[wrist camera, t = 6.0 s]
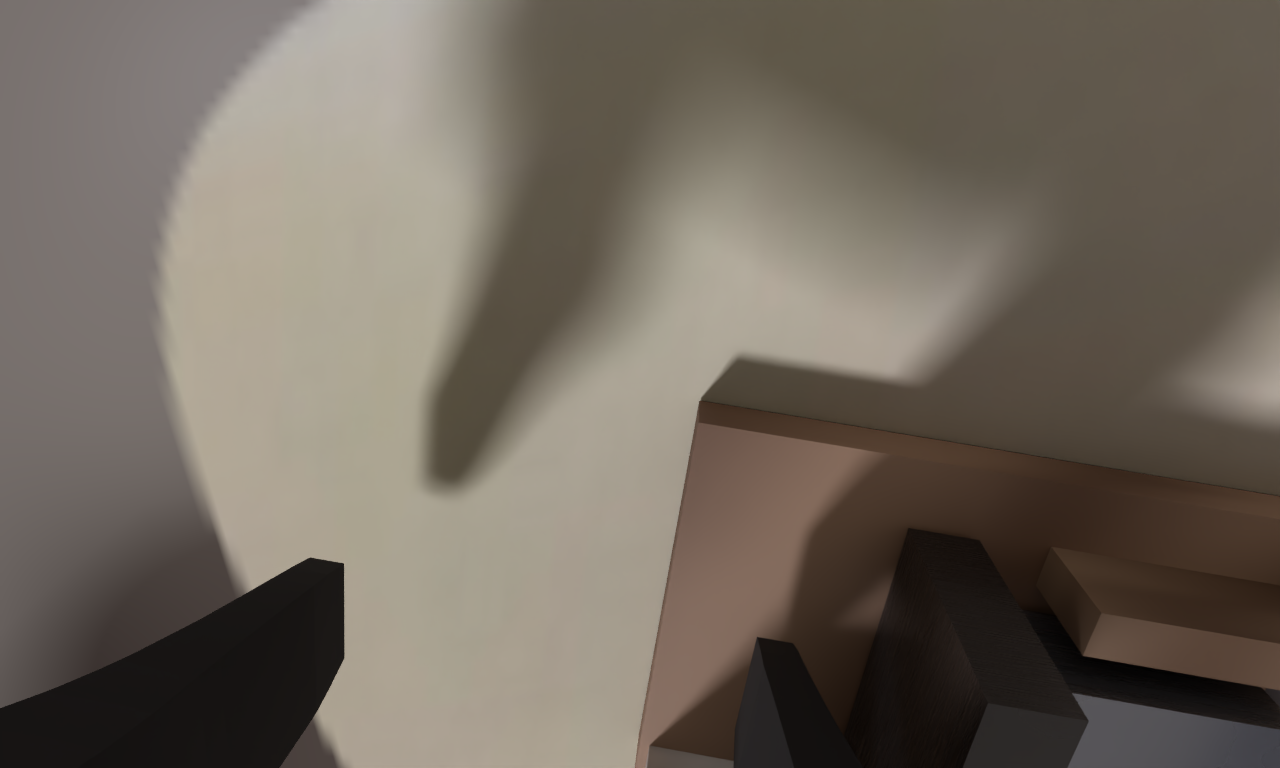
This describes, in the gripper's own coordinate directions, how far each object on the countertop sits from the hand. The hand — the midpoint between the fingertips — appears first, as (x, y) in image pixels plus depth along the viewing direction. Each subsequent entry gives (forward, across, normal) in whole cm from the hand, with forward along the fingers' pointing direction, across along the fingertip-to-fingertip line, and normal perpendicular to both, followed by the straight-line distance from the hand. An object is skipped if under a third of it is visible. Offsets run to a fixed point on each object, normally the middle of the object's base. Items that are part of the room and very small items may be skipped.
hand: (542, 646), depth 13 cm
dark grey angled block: (+1, -9, 0) cm, 9 cm away
